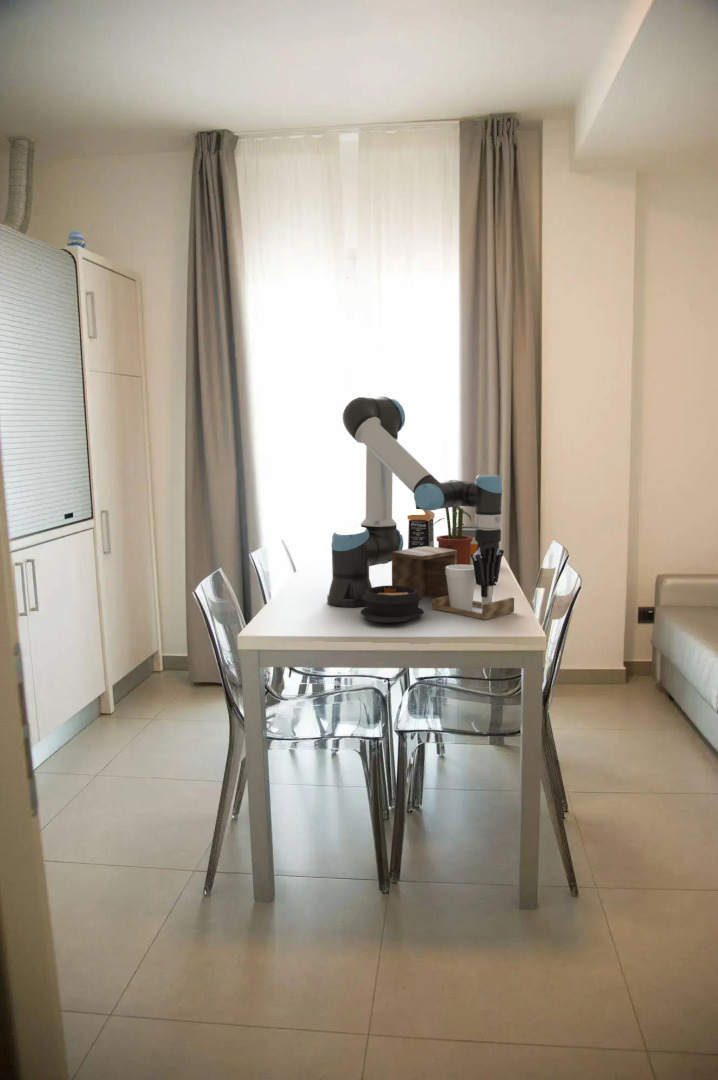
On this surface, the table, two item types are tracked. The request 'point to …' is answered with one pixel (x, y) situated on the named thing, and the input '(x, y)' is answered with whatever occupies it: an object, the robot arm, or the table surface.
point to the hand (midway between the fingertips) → (486, 607)
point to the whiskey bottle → (420, 528)
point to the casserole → (391, 604)
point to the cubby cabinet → (423, 569)
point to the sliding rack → (487, 609)
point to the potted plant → (456, 537)
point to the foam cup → (460, 585)
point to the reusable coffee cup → (469, 532)
